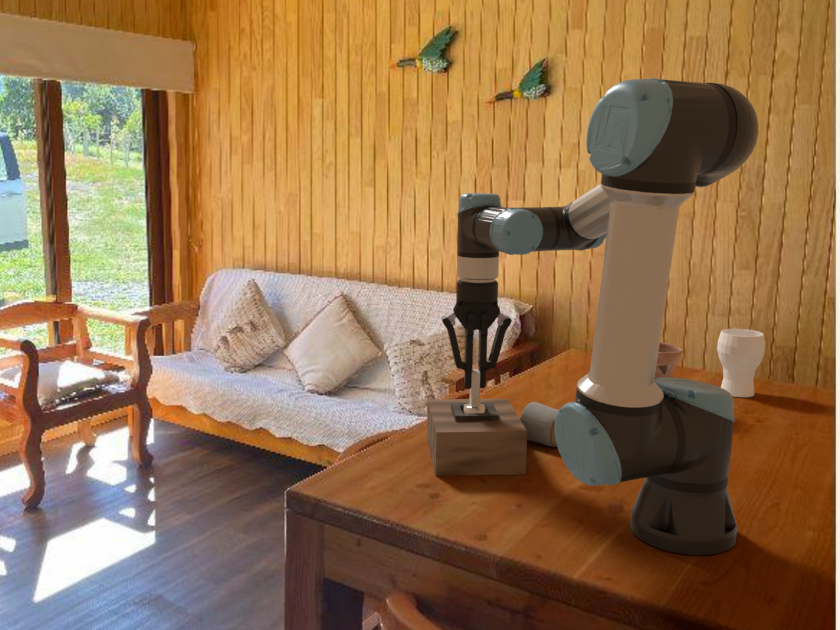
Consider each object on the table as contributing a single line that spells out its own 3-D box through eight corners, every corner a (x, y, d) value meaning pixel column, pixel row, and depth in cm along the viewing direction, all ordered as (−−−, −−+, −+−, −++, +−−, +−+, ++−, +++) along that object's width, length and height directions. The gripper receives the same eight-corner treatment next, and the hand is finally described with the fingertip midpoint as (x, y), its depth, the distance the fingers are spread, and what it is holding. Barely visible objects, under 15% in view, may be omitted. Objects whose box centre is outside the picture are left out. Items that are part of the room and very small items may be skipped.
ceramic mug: (552, 453, 156) (554, 414, 154) (517, 442, 161) (518, 405, 160) (581, 440, 164) (583, 403, 162) (547, 431, 169) (549, 395, 168)
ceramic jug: (681, 421, 176) (686, 356, 174) (612, 413, 181) (617, 350, 178) (683, 400, 193) (688, 341, 190) (620, 393, 197) (624, 335, 195)
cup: (708, 386, 203) (712, 327, 201) (751, 387, 203) (756, 328, 200) (721, 399, 193) (726, 336, 190) (767, 400, 193) (773, 337, 190)
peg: (485, 453, 152) (486, 409, 151) (464, 453, 152) (465, 409, 150) (482, 445, 156) (483, 402, 154) (461, 445, 156) (462, 403, 154)
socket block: (525, 474, 145) (527, 425, 143) (435, 475, 144) (436, 426, 142) (506, 437, 164) (507, 393, 163) (426, 438, 163) (427, 394, 162)
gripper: (509, 276, 152) (505, 398, 157) (439, 276, 151) (437, 399, 156) (516, 282, 145) (512, 410, 149) (443, 282, 144) (441, 411, 148)
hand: (474, 404), depth 152 cm, fingers closed
